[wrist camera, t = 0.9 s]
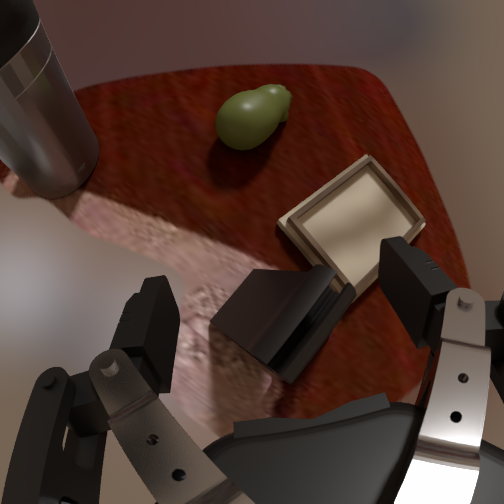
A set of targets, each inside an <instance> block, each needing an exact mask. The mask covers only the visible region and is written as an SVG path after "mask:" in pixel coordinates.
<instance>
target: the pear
mask: <svg viewBox="0 0 504 504" xmlns="http://www.w3.org/2000/svg"><path fill="white" fill-rule="evenodd" d="M291 100H292V96H291V94H290V92H289V91H287V90H286V88H285V87H284V86H281V85H274V84H270V85H264V86H261V87H259V88H258V89H256V90H249V91H244V92H240V93H238V94H236V95H234V96H232V97H231V98H230V99H229V100H227V101H226V102H225V103H224V104H223V106H222V107H221V108H220V110H219V111H218V114H217V116H216V120H215V128H216V132H217V134H218V136H219V138H220V139H221V140H222V142H223V143H224V144H226V145H227V146H229V147H231V148H233V149H236V150H250V149H253V148H255V147H257V146H258V145H260V144H261V143H263V142H264V141H265V140H266V139H267V138H268V137H269V136H270V135H271V134H272V133H273V132H274V131H275V129H276V128H277V126H278V124H279V122H285V121H286V120H287V119H288V110H289V106H290V103H291Z"/></svg>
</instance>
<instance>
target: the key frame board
mask: <svg viewBox="0 0 504 504" xmlns="http://www.w3.org/2000/svg"><path fill="white" fill-rule="evenodd" d="M425 221H426V220H425V218H424V217H423V216H422V214H421V213H420V212H419V211H418V209H417V208H416V207H415V206H414V204H413V203H412V202H411V201H410V199H409V198H408V197H407V196H406V195H405V193H404V192H403V191H402V190H401V189H400V187H399V186H398V185H397V184H396V183H395V182H394V180H393V179H392V178H391V177H390V176H389V175H388V174H387V172H386V171H385V170H384V169H383V168H382V167H381V166H380V165H379V164H378V162H377V161H376V160H375V159H374V158H373V157H372V156H371V155H370V156H367V155H365V156H363V157H362V158H361V159H359V160H358V161H357V162H355V163H354V164H352V165H351V166H350V167H348V168H347V169H346V170H344V171H343V172H342V173H340V174H339V175H338V176H336V177H335V178H334V179H332V180H331V181H330V182H328V183H327V184H326V185H324V186H323V187H322V188H320V189H319V190H318V191H316V192H315V193H314V194H312V195H311V196H310V197H308V198H307V199H306V200H304V201H303V202H302V203H300V204H299V205H298V206H296V207H295V208H294V209H292V210H291V211H290V212H288V213H287V214H286V215H284V216H283V217H282V218H280V219H279V220H278V222H277V224H278V226H279V227H280V228H281V229H282V230H283V231H284V233H285V234H286V235H287V236H288V237H289V239H290V240H291V241H292V242H293V243H294V244H295V246H296V247H297V248H298V249H299V250H300V252H301V253H302V254H303V255H304V256H305V258H306V259H307V260H308V261H309V262H310V264H311V265H312V266H314V265H316V264H321V265H325V266H328V267H330V268H332V269H334V270H335V271H337V274H336V276H335V277H334V278H333V280H332V281H331V283H330V284H329V287H330V288H331V289H332V290H333V291H334V292H338V293H339V294H340V292H341V291H342V289H343V288H344V286H345V285H346V284H347V283H351V284H352V285H353V287H354V288H355V290H356V294H357V295H356V297H355V299H354V300H353V302H354V301H355V300H356V299H357V298H358V297H359V296H360V295H361V294H362V293H363V292H364V291H365V290H366V289H367V288H368V287H369V286H370V285H371V284H372V283H373V282H374V281H375V280H376V279H377V278H378V268H379V255H380V243H381V240H382V239H385V238H391V237H396V236H402V237H403V238H404V239H405V240H406V241H407V242H408V243H410V242H411V241H412V240H413V239H414V238H415V236H416V235H417V234H418V233H419V232H420V231H421V229H422V228H423V227H424V226H425V225H426V224H425V223H424V222H425ZM353 302H352V303H353ZM352 303H351V304H352ZM351 304H350V305H351Z"/></svg>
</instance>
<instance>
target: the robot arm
mask: <svg viewBox="0 0 504 504" xmlns="http://www.w3.org/2000/svg"><path fill="white" fill-rule="evenodd" d="M98 155H99V144H98V141H97V138H96V136H95V134H94V132H93V131H92V129H91V127H90V125H89V123H88V121H87V119H86V117H85V115H84V113H83V111H82V109H81V107H80V105H79V103H78V101H77V99H76V97H75V95H74V93H73V91H72V89H71V87H70V85H69V83H68V81H67V78H66V76H65V74H64V72H63V70H62V68H61V66H60V63H59V61H58V59H57V57H56V55H55V52H54V50H53V48H52V46H51V43H50V42H49V39H48V37H47V34H46V32H45V30H44V27H43V25H42V22H41V20H40V17H39V15H38V12H37V10H36V8H35V5H34V3H33V0H0V159H1V160H2V161H3V162H4V163H5V164H6V165H7V166H8V167H9V168H10V169H11V170H12V171H13V172H14V173H15V174H16V175H17V176H18V177H19V178H20V179H21V180H22V181H23V182H24V183H25V184H26V185H27V186H28V187H29V188H31V189H32V190H33V191H34V192H35V193H36V194H38V195H39V196H40V197H43V198H46V199H56V198H60V197H63V196H66V195H68V194H70V193H71V192H73V191H75V190H76V189H77V188H79V187H80V186H81V185H82V184H83V183H84V182H85V181H86V179H87V178H88V177H89V176H90V174H91V173H92V171H93V169H94V168H95V165H96V162H97V160H98ZM378 280H379V284H380V287H381V289H382V291H383V293H384V294H385V296H386V297H387V299H388V301H389V302H390V304H391V305H392V307H393V309H394V310H395V312H396V314H397V315H398V317H399V319H400V320H401V322H402V324H403V325H404V327H405V329H406V330H407V332H408V334H409V335H410V337H411V339H412V341H413V342H414V344H415V346H416V348H417V349H419V348H422V347H425V346H428V345H429V347H430V349H431V350H430V353H429V356H428V360H427V364H426V368H425V372H424V376H423V380H422V383H421V387H420V391H419V394H418V397H417V400H416V403H415V405H412V404H409V403H402V402H388V399H387V397H386V394H385V392H384V393H381V394H378V395H374V396H370V397H367V398H363V399H359V400H355V401H351V402H349V403H347V404H345V405H343V406H341V407H338V408H336V409H334V410H332V411H330V412H328V413H326V414H324V415H321V416H319V417H317V418H314V419H293V418H274V417H271V418H264V419H256V420H248V421H240V422H234V433H231V434H228V435H226V436H224V437H221V438H219V439H218V440H216V441H214V442H212V443H211V444H210V445H208V446H207V447H206V448H204V449H203V450H201V449H200V448H199V447H198V446H197V445H196V443H195V442H194V441H193V440H192V439H191V437H190V436H189V435H188V434H187V433H186V432H185V430H184V429H183V428H182V427H181V426H180V424H179V423H178V422H177V421H176V419H175V418H174V417H173V416H172V415H171V413H170V412H169V411H168V409H167V408H166V407H165V405H164V404H163V403H162V402H161V400H160V399H159V398H158V397H159V393H170V389H171V382H172V374H173V367H174V360H175V353H176V346H177V340H178V333H179V327H180V314H179V310H178V306H177V304H176V301H175V298H174V296H173V293H172V290H171V287H170V285H169V282H168V279H167V278H166V276H165V275H162V276H157V277H150V278H145V279H144V282H143V285H142V287H141V290H140V293H134V294H133V295H132V297H131V298H130V299H129V300H128V301H127V302H126V305H125V307H124V310H123V312H122V313H123V314H122V315H121V318H120V320H119V321H120V323H118V326H117V328H116V331H115V334H114V337H113V340H112V342H111V345H110V348H109V350H107V351H104V352H102V353H101V354H99V355H98V356H97V357H95V359H94V360H93V361H92V363H91V364H90V367H89V370H88V371H85V372H83V373H79V374H76V375H73V376H69V375H68V374H67V372H66V371H65V370H64V369H63V368H61V367H53V368H49V369H47V370H46V371H44V372H43V373H42V374H41V375H40V376H39V377H38V379H37V380H36V383H35V385H34V388H33V390H32V393H31V396H30V399H29V401H28V405H27V407H26V410H25V413H24V416H23V419H22V422H21V425H20V429H19V432H18V435H17V439H16V442H15V446H14V449H13V453H12V457H11V461H10V465H9V469H8V474H7V478H6V482H5V487H4V492H3V497H2V503H1V504H99V495H100V484H101V475H102V466H103V458H104V451H105V444H106V437H107V431H108V430H112V431H113V433H114V434H115V436H116V438H117V440H118V442H119V444H120V445H121V447H122V449H123V450H124V452H125V454H126V455H127V457H128V459H129V460H130V462H131V464H132V465H133V467H134V468H135V470H136V472H137V473H138V475H139V476H140V478H141V479H142V481H143V482H144V484H145V485H146V487H147V488H148V490H149V491H150V492H151V494H152V495H153V497H154V498H155V499H156V501H157V502H156V503H155V504H504V450H503V449H500V448H499V447H496V446H495V445H492V444H491V443H488V442H487V441H485V440H482V439H481V437H482V432H483V426H484V419H485V413H486V406H487V397H488V389H489V378H491V380H492V382H493V384H494V386H495V388H496V389H497V391H498V393H499V395H500V397H501V399H502V401H503V403H504V292H503V295H502V298H501V300H500V301H484V300H483V298H482V297H481V296H480V295H479V294H478V293H477V292H475V291H473V290H471V289H467V288H458V287H457V286H456V285H455V284H454V283H453V282H452V281H451V279H450V278H449V277H448V276H447V275H446V274H445V273H444V272H443V271H442V269H441V268H439V266H438V265H437V264H436V263H435V262H433V260H432V259H431V258H430V257H429V256H428V254H427V253H426V252H424V251H422V250H420V249H418V248H417V247H415V246H414V247H411V246H410V245H409V243H408V242H407V241H406V240H405V239H404V238H403V237H402V236H396V237H391V238H385V239H382V240H381V243H380V255H379V268H378ZM66 426H67V427H68V428H69V429H68V433H67V438H66V442H65V448H64V451H63V447H62V443H63V438H64V434H65V430H66Z"/></svg>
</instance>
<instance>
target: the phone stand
mask: <svg viewBox="0 0 504 504" xmlns="http://www.w3.org/2000/svg"><path fill="white" fill-rule="evenodd" d="M336 274H337V271H335V270H334V269H332V268H330V267H328V266H325V265H321V264H316V265H314V266H313V268H312V269H311V270H310V271H307V272H301V271H282V270H265V269H253V271H252V272H251V273H250V274H249V275H248V277H247V278H246V279H245V280H244V281H243V282H242V284H241V285H240V286H239V287H238V288H237V290H236V291H235V292H234V293H233V294H232V296H231V297H230V298H229V299H228V300H227V301H226V303H225V304H224V305H223V306H222V307H221V309H220V310H219V311H218V312H217V313H216V314H215V316H214V317H213V318H212V319H211V320H210V322H211V323H212V324H213V325H214V326H216V327H217V328H218V329H219V330H220V331H222V332H223V333H224V334H225V335H226V336H228V337H229V338H230V339H231V340H233V341H234V342H235V343H236V344H238V345H239V346H240V347H241V348H243V349H244V350H245V351H246V352H248V353H249V354H250V355H251V356H253V357H254V358H255V359H256V360H258V361H259V362H260V363H262V364H263V365H264V366H265V367H267V368H268V369H269V370H271V371H272V372H273V373H275V374H276V375H277V376H279V377H280V378H281V379H283V380H284V381H285V382H287V383H288V384H289V385H292V384H293V383H294V381H295V380H296V379H297V378H298V376H299V375H300V374H301V373H302V371H303V370H304V369H305V368H306V366H307V365H308V364H309V362H310V361H311V360H312V358H313V357H314V356H315V354H316V353H317V352H318V351H319V349H320V348H321V346H322V345H323V344H324V342H325V341H326V340H327V338H328V337H329V336H330V334H331V333H332V331H333V329H334V327H335V326H336V325H337V323H338V322H339V320H340V319H341V318H342V316H343V315H344V313H345V312H346V310H347V309H348V307H349V306H350V304H351V303H352V302H353V300H354V299H355V297H356V295H357V294H356V290H355V288H354V287H353V285H352V284H351V283H347V284H346V285H345V286H344V288H343V289H342V291H341V292H340V294H339V293H338V292H333V290H332V289H331V288H330V287H328V285H329V284H330V283H331V281H332V280H333V278H334V277H335V276H336Z"/></svg>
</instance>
